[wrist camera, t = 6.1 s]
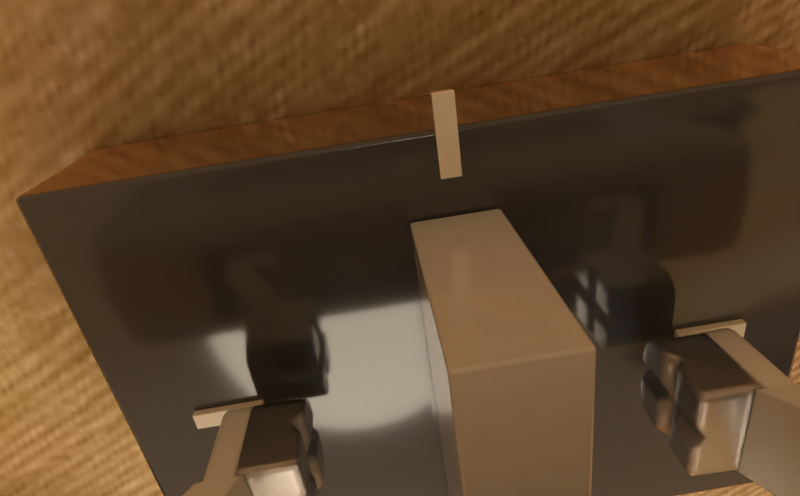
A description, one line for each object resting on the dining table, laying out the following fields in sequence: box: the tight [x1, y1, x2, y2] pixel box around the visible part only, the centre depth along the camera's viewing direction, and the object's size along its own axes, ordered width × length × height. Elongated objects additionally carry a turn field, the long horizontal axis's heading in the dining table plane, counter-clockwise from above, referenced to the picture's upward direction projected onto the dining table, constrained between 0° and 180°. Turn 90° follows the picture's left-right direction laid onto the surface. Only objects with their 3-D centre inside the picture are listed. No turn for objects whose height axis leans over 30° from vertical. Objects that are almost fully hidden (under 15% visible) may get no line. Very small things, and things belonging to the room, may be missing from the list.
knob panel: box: [16, 44, 800, 496], centre depth 12 cm, size 14×11×3 cm
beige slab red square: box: [410, 209, 596, 496], centre depth 9 cm, size 7×2×4 cm, turn 8°
